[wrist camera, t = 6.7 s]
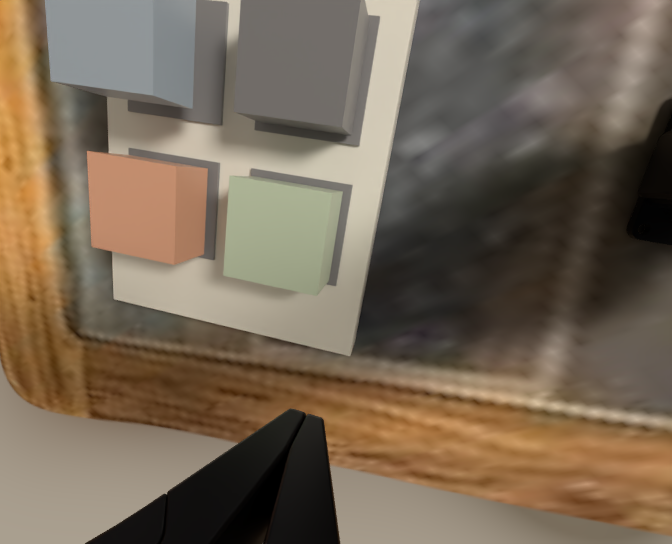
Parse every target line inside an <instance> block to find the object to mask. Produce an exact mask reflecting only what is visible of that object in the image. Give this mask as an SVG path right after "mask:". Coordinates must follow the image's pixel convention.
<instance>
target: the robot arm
mask: <svg viewBox="0 0 672 544" xmlns="http://www.w3.org/2000/svg"><path fill="white" fill-rule="evenodd" d="M638 192H639V194H640V196H639V198H638V201H637V203H636V206H635V208H634V211H633V213H632V216H631V218H630V221H629V223H628V226H627V233H628V235H629V236H630V237H632V238H635V239H639V240H644V241H650V242H656V243H662V244H668V245H672V116H671V118H670V121H669V123H668V126H667V128H666V131H665V133H664V134H663V135H662V136H660V138H659V140H658V142H657V145H656V147H655V150H654V152H653V155H652V157H651V160H650V162H649V165H648V167H647V170H646V172H645V175H644V177H643V180H642V183H641V185H640V188H639V190H638ZM642 224H644V225H645V230H644V231H643V232H641V233H639V232H638V228H639V227H640V226H641V225H642ZM85 544H340V538H339V531H338V523H337V516H336V508H335V501H334V493H333V486H332V479H331V471H330V463H329V456H328V448H327V441H326V434H325V426H324V420H323V419H322V418H321V417H318V416H315V415H311V414H308V415H306V414H305V413H304V412H302V411H299V410H295V409H289V410H287V411H286V412H284V413H283V414H281V415H280V416H278V417H277V418H275V419H274V420H272V421H271V422H269V423H268V424H266V425H265V426H263V427H262V428H260V429H259V430H258V431H256V432H255V433H253V434H252V435H250V436H249V437H247V438H246V439H244V440H243V441H241V442H240V443H238V444H237V445H235V446H234V447H232V448H231V449H230V450H228V451H227V452H225V453H224V454H222V455H221V456H219V457H218V458H216V459H215V460H213V461H212V462H210V463H209V464H207V465H206V466H204V467H203V468H202V469H200V470H199V471H197V472H196V473H194V474H193V475H191V476H190V477H188V478H187V479H185V480H184V481H183V482H181V483H179V484H178V485H176V486H175V487H173V488H172V489H170V490H169V491H168V492H167V495H166V494H163V495H161V496H160V497H159V498H157V499H155V500H154V501H153V502H151V503H150V504H148V505H147V506H145V507H144V508H142V509H141V510H139V511H137V512H136V513H134V514H133V515H131V516H130V517H128V518H126V519H125V520H123V521H122V522H120V523H119V524H117V525H116V526H114V527H112V528H110V529H109V530H107V531H105V532H104V533H102V534H100V535H99V536H97V537H95V538H93V539H92V540H90V541H88V542H87V543H85Z"/></svg>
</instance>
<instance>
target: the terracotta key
mask: <svg viewBox="0 0 672 544" xmlns="http://www.w3.org/2000/svg"><path fill="white" fill-rule="evenodd" d="M87 162H88V182H89V202H90V222H91V242H92V247H94V248H99V249H104V250H108V251H113V252H117V253H122V254H126V255H131V256H136V257H140V258H145V259H149V260H154V261H158V262H163V263H168V264H172V265H176V264H178V263H181V262H184V261H187V260H189V259H192V258H195V257H198V256H201V255H203V254H204V243H205V221H206V200H207V178H208V168H203V167H197V166H191V165H185V164H179V163H173V162H167V161H161V160H156V159H150V158H144V157H138V156H132V155H124V154H114V153H103V152H93V151H87Z"/></svg>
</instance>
